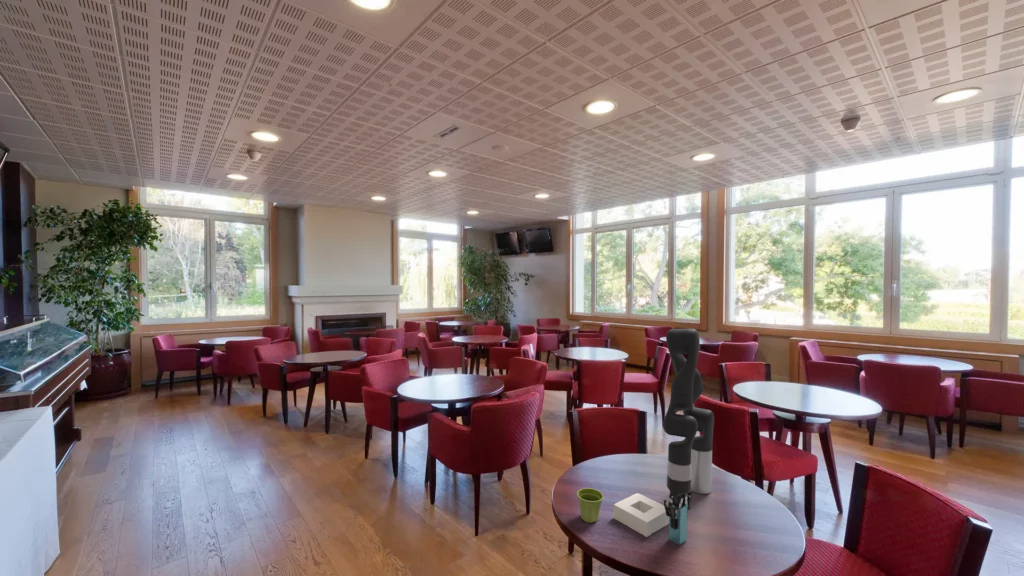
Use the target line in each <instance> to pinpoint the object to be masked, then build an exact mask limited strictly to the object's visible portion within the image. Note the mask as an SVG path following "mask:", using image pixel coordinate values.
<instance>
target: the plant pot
mask: <svg viewBox="0 0 1024 576" xmlns="http://www.w3.org/2000/svg"><path fill="white" fill-rule="evenodd" d="M576 495H577V498H578V502H579V509H580V510H579V512H580V517H581V518H580V519H582V520H583V521H584V522H586V523H589V524H590V523H591V524H592V523H594V522H595V523H596V522H598V520H599V517H600V510H601V504H602V501H603V500H604V494H603V492H602V491H600V490H598V489H596V488H591V487H589V488H588V487H585V488H581V489H578V490H577V492H576Z"/></svg>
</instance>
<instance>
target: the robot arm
mask: <svg viewBox="0 0 1024 576" xmlns="http://www.w3.org/2000/svg"><path fill="white" fill-rule="evenodd" d="M665 342H666V347H667V350H668V353H669V356H670V359H671V362H672V365H673V369H674V372H675V373H674V374H675V376H674V377H673V380H672V383H671V388H670V400H669V406H668V409H667V411H666V413H665V415H664V417H663V422H662V428H663V431H664V432H665V434H666V435H669V436H673V437H680V438H684V439H683V440H678V441H677V440H675V441H674V440H673V441H671V442H670V443H669V444H668V447H667V449H668V450H667V453H668V454H667V457H668V458H667V463H666V464H667V465H666V488H667V490H669V494H668V499H667V500H666V499H664V500H663V505H664V507H665V512H666V516H668V517H670V518H671V522H670V523H671V524H670V526H671V528H673V529H675V530H676V529H678V512H680V508H681V505H683V504H684V505H687V511H689V510H690V509H691V505H692V499H693V493H695V494H700V495H701V494H702V495H707V494H710V493H711V492H712V487H713V486H712V484H713V482H712V481H713V440H714V426H715V415H714V414H715V413H714V412H713V411H712V410H710V409H706V408H699V407H696V406H694V404H695V402H696V401H698V399H699V398H700V397H701V396H702V393H703V391H704V384H703V378H702V375H701V372H700V371H699V370H698V369H697V366H698V359H699V353H700V347H701V343H700V342H701V341H700V334H699V332H698V331H697V329H696V328H672V329H669V330H668V331H667V332H666V335H665ZM684 355H687V358H686V357H685V356H684ZM681 411H682V412H683V414H680V413H678V412H681ZM677 413H678V414H677ZM697 432H701V433H702V435H698V436H697ZM673 506H676V507H677V508H675V507H673ZM674 511H675V514H674Z"/></svg>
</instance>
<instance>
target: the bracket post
mask: <svg viewBox="0 0 1024 576" xmlns="http://www.w3.org/2000/svg"><path fill="white" fill-rule="evenodd" d="M673 507H675V508H677V507H676V506H673ZM674 514H675V511H674ZM670 522H671V518H670V517H669V524H668V540H669V539H670V541H672V542H674V544H677V545H678V546H680V545H682V544H684V543H685V542H687V538H688V537H687V535H688V534H687V533H688V532H687V531H688V530H687V529H688V528H687V526H688V510H687V505H684V504H683V505H681V508H680V512H678V529H676V530H675V529H673V528H671V526H670V524H671V523H670Z"/></svg>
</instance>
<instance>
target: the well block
mask: <svg viewBox="0 0 1024 576" xmlns="http://www.w3.org/2000/svg"><path fill="white" fill-rule="evenodd" d="M612 516H613V519H614V520H616V521H618V522H620V523H621V524H623V525H625V526H626V525H627V527H628V528H630V529H632V530H634V531H636V532H637V533H639V534H641V535H642V534H643V535H642V536H644V537H645V538H648V537H649V536H651V535H653V534H655V532H658V531H659V530H660V529H662V528H664V527H666V526H667V525H668V526H669V517H668V516H666V512H665V507H664V504H661V503H659V502H658V501H655V500H653V499H651V498H649V497H647V496H645V495H643V494H641V493H638V492H636V493H635V494H632V495H629V496H628V497H626V498H624V499H622V500H620V501H617V502H616V503H614V504H613V515H612ZM652 533H653V534H652Z"/></svg>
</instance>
